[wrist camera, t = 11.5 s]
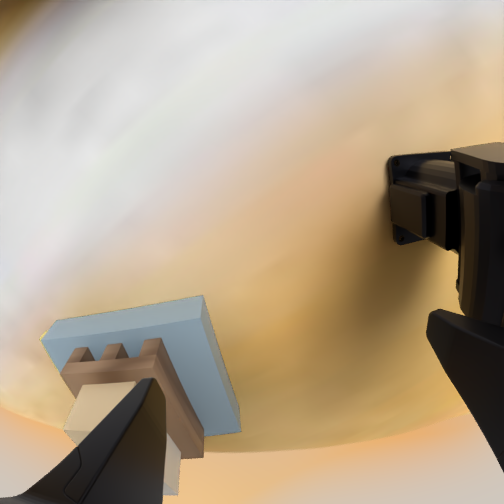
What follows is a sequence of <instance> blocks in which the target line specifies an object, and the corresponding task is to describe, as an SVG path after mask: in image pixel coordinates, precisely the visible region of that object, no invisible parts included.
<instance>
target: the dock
mask: <svg viewBox="0 0 504 504" xmlns="http://www.w3.org/2000/svg"><path fill="white" fill-rule="evenodd" d="M154 338H162V341H163V343H164V346H165V348H166V350H167V353H168V355H169V357H170V360H171V362H172V364H173V366H174V369H175V371H176V373H177V375H178V377H179V380H180V382H181V384H182V386H183V388H184V390H185V392H186V394H187V397H188V399H189V401H190V403H191V405H192V407H193V409H194V411H195V413H196V415H197V417H198V419H199V421H200V422H201V424H202V426H203V428H204V436H213V435H222V434H229V433H236V432H241V424H240V412H239V405H238V402H237V400H236V397H235V394H234V391H233V388H232V385H231V382H230V379H229V376H228V373H227V370H226V367H225V364H224V361H223V358H222V355H221V352H220V349H219V346H218V343H217V339H216V336H215V333H214V330H213V327H212V323H211V320H210V317H209V313H208V310H207V307H206V303H205V300H204V297H203V295H201V296H196V297H191V298H186V299H180V300H175V301H170V302H164V303H159V304H153V305H148V306H142V307H136V308H131V309H125V310H119V311H113V312H107V313H101V314H95V315H88V316H82V317H76V318H69V319H63V320H56V322H55V323H54V324H53V325H52V327H51V328H50V329H49V330H48V331H45V332H44V334H43V335H42V336H41V338H40V339H39V340H40V341H41V343H42V345H43V347H44V349H45V351H46V352H47V354H48V356H49V358H50V359H51V361H52V363H53V364H54V366H55V368H56V369H57V371H58V373H59V374H60V372H61V371H62V369H63V367H64V366H65V364H66V362H67V361H68V359H69V357H70V356H71V354H72V352H73V351H74V349H75V348H80V347H88V348H89V350H90V352H91V353H92V355H93V357H94V359H95V361H99V360H100V358H101V356H102V354H103V352H104V350H105V348H106V346H107V345H108V344H116V343H122V344H123V346H124V348H125V350H126V352H127V354H128V356H129V358H131V357H139V354H140V351H141V348H142V345H143V342H144V340H147V339H154ZM60 376H61V375H60ZM65 384H66V383H65ZM67 387H68V386H67ZM69 390H70V389H69ZM71 393H72V392H71Z"/></svg>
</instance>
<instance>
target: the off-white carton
mask: <svg viewBox="0 0 504 504" xmlns="http://www.w3.org/2000/svg"><path fill="white" fill-rule="evenodd" d="M180 460H181V451H180V450H179V449H178V447H177V446H176V445H175V443H174V442H173V440H172V439H171V437H170V436H169V435H168V433H167V445H166V458H165V470H164V484H163V495H178V487H179V473H180Z"/></svg>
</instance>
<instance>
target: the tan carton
mask: <svg viewBox="0 0 504 504" xmlns="http://www.w3.org/2000/svg"><path fill="white" fill-rule="evenodd" d="M135 385H136V382H135V381H133V382H121V383H108V384H90V385H83V386H82V388H81V390H80V392H79V394H78V396H77V398H76V401H75V403H74V405H73V407H72V409H71V412H70V414H69V416H68V418H67V421H66V423H65V425H64V428H63V430H64V432H65V433H66V434H67V435H68V436H69V437H70V438H71V439H72V441H73V442H74V443H75V444H76V445H77V446H78V444H79V443H80V442H81V441H82V440H83V439H84V438H85V437H86V436H87V435H88V434H89V433H90V432H91V431H92V430H93V429H94V428H95V427H96V426H97V425H98V424H99V423H100V422H101V421H102V420H103V419H104V418H105V417H106V416H107V414H108V413H109V412H110V411H111V410H112V409H113V408H114V407H115V406H116V405H117V404H118V403H119V402H120V401H121V400H122V399H123V398H124V397H125V396H126V395H127V394H128V393H129V392H130V391H131V390H132V388H133V387H134V386H135Z"/></svg>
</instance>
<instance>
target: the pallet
mask: <svg viewBox="0 0 504 504" xmlns="http://www.w3.org/2000/svg"><path fill="white" fill-rule="evenodd" d="M60 375H61V377H62V379H63V380H64V382H65V383H66V385H67V386H68V388H69V389H70V391H71V392H72V394H73V395H74V397H75V398H77V396H78V394H79V392H80V390H81V388H82V386H83V385H90V384H108V383H121V382H133V381H135V382H136V384H137V383H138V382H139V381H140V380H141V379H143V378H149V377H154V378H156V380H157V381H158V383H159V385H160V387H161V389H162V391H163V393H164V395H165V398H166V428H167V433H168V435H169V436H170V437H171V439H172V440H173V442H174V443H175V445H176V446H177V447H178V449H179V450H180V451H181V459H192V458H203V457H204V428H203V426H202V424H201V422H200V421H199V419H198V417H197V415H196V413H195V411H194V409H193V407H192V405H191V403H190V401H189V399H188V397H187V394H186V392H185V390H184V388H183V386H182V384H181V382H180V380H179V377H178V375H177V373H176V371H175V369H174V366H173V364H172V362H171V360H170V357H169V355H168V353H167V350H166V348H165V346H164V343H163V341H162V338H154V339H147V340H144V342H143V345H142V348H141V351H140V354H139V357H131V358H129V356H128V354H127V352H126V350H125V348H124V346H123V344H122V343H116V344H108V345H107V346H106V348H105V350H104V352H103V354H102V356H101V358H100V360H99V361H95V359H94V357H93V355H92V353H91V352H90V350H89V348H88V347H80V348H75V349H74V351H73V352H72V354H71V356H70V357H69V359H68V361H67V362H66V364H65V366H64V367H63V369H62V371H61V372H60Z"/></svg>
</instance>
